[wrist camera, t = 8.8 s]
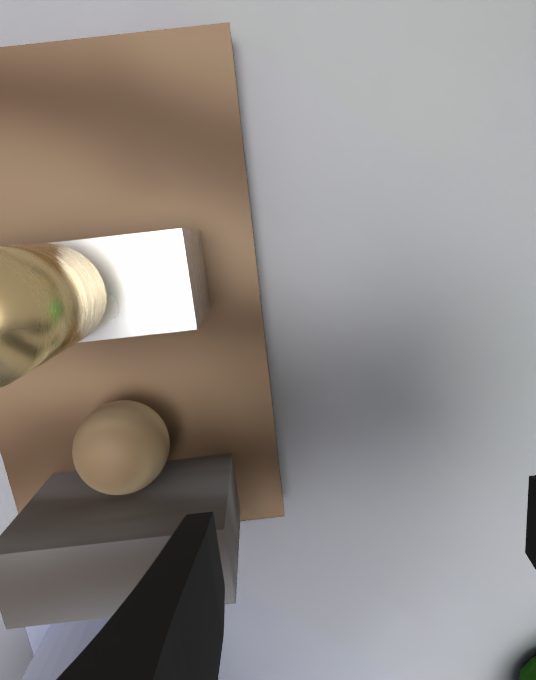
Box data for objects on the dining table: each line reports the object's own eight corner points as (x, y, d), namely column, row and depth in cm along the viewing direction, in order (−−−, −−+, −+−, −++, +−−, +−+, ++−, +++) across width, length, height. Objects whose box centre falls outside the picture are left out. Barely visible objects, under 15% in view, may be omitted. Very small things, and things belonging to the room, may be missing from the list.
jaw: (210, 307, 17) (171, 370, 9) (9, 329, 17) (-202, 411, 9) (199, 229, 16) (147, 225, 8) (-11, 252, 16) (-261, 270, 8)
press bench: (282, 496, 21) (294, 608, 15) (43, 523, 21) (-48, 646, 15) (231, 41, 16) (216, -82, 10) (-80, 75, 16) (-294, -26, 10)
